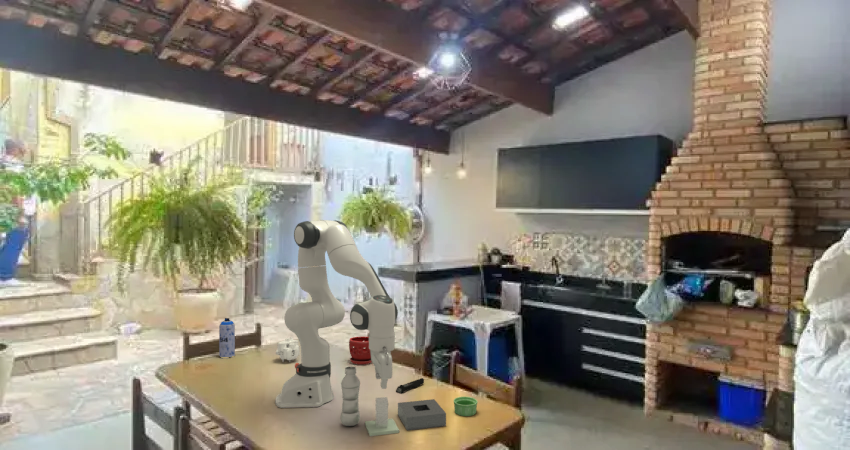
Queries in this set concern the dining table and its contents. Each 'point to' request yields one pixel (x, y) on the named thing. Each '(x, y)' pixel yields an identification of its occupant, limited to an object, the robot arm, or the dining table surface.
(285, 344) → the mechanical part
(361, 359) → the plant pot
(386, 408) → the steel peg
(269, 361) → the dining table surface
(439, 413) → the socket block
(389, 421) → the sage pad
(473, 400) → the ramekin
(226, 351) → the aerosol can
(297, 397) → the robot arm
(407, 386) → the electric trimmer
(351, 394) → the plastic bottle
